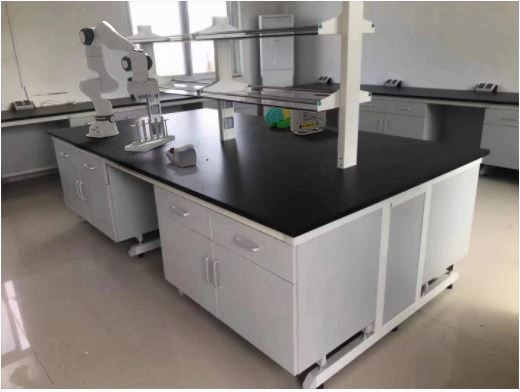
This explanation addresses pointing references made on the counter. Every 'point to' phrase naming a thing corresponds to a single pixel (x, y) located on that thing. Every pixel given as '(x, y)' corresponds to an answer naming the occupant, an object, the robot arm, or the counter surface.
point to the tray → (148, 144)
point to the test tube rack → (150, 130)
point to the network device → (307, 121)
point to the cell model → (182, 155)
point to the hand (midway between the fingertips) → (145, 101)
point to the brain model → (278, 117)
